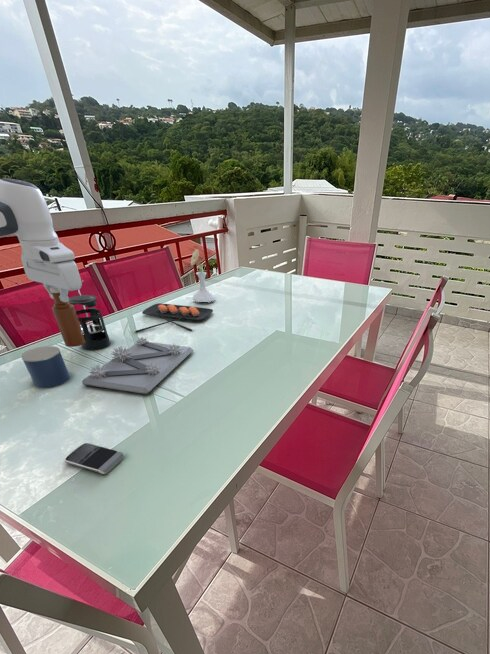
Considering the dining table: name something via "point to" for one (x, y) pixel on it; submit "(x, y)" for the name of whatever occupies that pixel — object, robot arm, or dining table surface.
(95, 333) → the french press
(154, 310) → the sushi plate
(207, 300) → the flower in vase
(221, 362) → the dining table surface
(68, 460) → the cell phone
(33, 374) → the tin can
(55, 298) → the bottle
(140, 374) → the decorative plate
